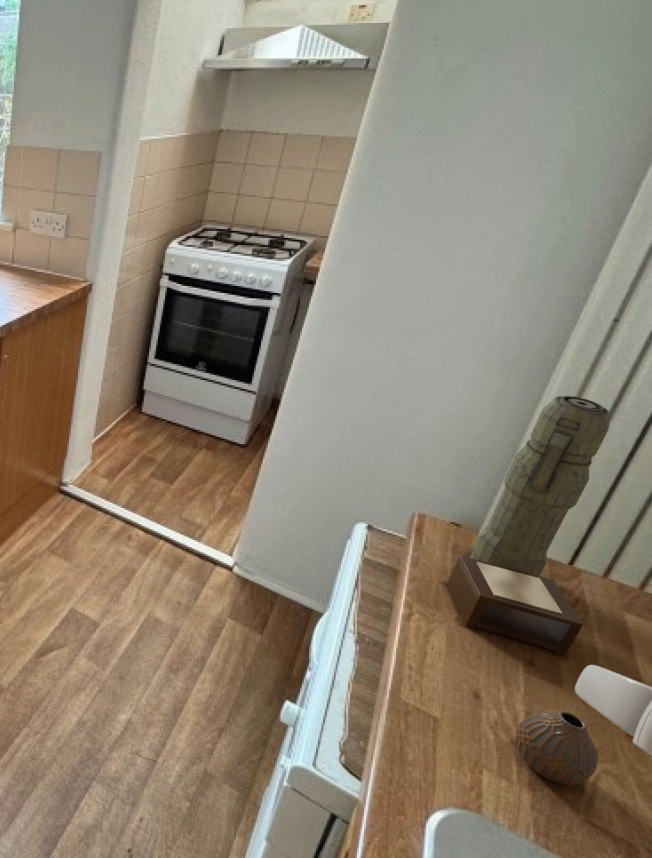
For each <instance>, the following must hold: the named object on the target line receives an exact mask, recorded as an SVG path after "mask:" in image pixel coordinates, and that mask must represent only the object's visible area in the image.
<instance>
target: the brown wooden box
mask: <svg viewBox="0 0 652 858" xmlns="http://www.w3.org/2000/svg"><path fill="white" fill-rule="evenodd" d="M446 588H447V590H448V592H449V593H450V597H451V598H452V600H453V603H454V605H455V608H456V609H457V612H458V614H459V616H460V618H461V620H462V622H463V624H464V627H466V628H469V629H473V630H475V629H476V628H478V629H480V630H484V631H488V632H491V633H494V634H497V635H501V636H503V637H508V638H512V639H514V640H517V641H520V642H524V643H527V644H531V645H534V646H538V647H541V648H545V649H548V650H550V651H552V652H553V653H554V654H555V655H559V656H562V657H566V655H567V653H568V651H570V648H571V647H572V645H573V643H574V641H575V639H576V638H577V636H578V635H579V633H580V631H581V629H582V628H583V625H584V623H583V622H582V620H581V619H580V617H579V616H578V614H577V613H576V612H575V610H574V609H573V607H572V605H571V604H570V603H569V601H568V600H567V599H566V597H565V595H564V594H563V592H562V591H561V590H560V588H559V586H558V585H557V583H556V582H555V580H553V579H552V578H548V577H545V576H542V575H540V576H537V575H533V574H529V573H526V572H522V571H518V570H514V569H510V568H507V567H503V566H499V565H495V564H491V563H488V562H484V561H480V560H476V559H473V558H470V556H465V555H462V554H460V555H459V556H458V558H457V560H456V562H455V564H454V567H453V569H452V571H451V573H450V576H449V577H448V580H447V582H446Z"/></svg>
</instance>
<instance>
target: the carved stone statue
mask: <svg viewBox="0 0 652 858" xmlns="http://www.w3.org/2000/svg"><path fill="white" fill-rule="evenodd" d="M609 429H610V411H609V410H608V409H607V408H606V407H604V406H603V405H602V404H600V403H598V402H595V401H593V400H590V399H587V398H583V397H579V396H574V395H564V396H563V395H562V396H561V395H560V396H559V395H558V396H556V397H554V398H553V399H552V400H551V401H549V402H548V403H547V404H546V405H545V406H544V407H543V408H542V409H541V412H540V413H539V416H538V418H537V420H536V423H535V425H534V427H533V429H532V431H531V433H530V437H531V438H529V440H527V441H526V444H525V446H523V448H521V449H520V450H519V451H517V453H515V456H514V458H513V460H512V462H511V465H510V467H509V469H508V471H507V473H506V476H505V478H504V481H503V482H504V486H505V487H504V489H503V491H502V493H501V495H500V497H499V500H498V502H497V504H496V506H495V508H494V510H493V513H492V515H491V517H490V519H489V521H488V524H487V525H486V526H485V527H484V528H483V529H482V530H481V531H480V532H478V535H477V537H476V539H475V542H474V543H473V546H472V553H471V554H470V555H469V558H473V559H476V560H480V561H484V562H488V563H491V564H495V565H499V566H503V567H507V568H510V569H514V570H518V571H522V572H526V573H529V574H533V575H537V576H541V574H542V572H543V570H544V569H545V566H546V565H547V562H548V561H547V560H548V558H547V555H548V553H547V552H548V550H549V548H550V547H551V545H552V543H553V541H554V539H555V538H556V537H555V536H556V535H557V533H558V530H559V529H560V527H561V525H562V523H563V521H564V520H565V517H566V515H567V513H568V512H569V510H570V509H573V508H574V507H575V506H576V505H577V503H578V501H579V500H580V498H581V496H582V495H583V492H584V491H585V488H586V486H587V485H588V482H589V480H590V466H592V458H593V457H595V456H596V454H597V453H598V451H599V449H600V447H601V446H602V443H603V441H604V439H605V437H606V435H607V433H608V431H609Z"/></svg>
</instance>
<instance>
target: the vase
mask: <svg viewBox="0 0 652 858" xmlns="http://www.w3.org/2000/svg"><path fill="white" fill-rule="evenodd" d="M588 732H589V731H588V726H587V724H586V723H585V721H584V720H582V719H581V717H579V716H577V715H576V714H574V713H572V712H570V711H567V710H560V711H559V710H558V711H556V712H544V711H543V712H535V713H532V714H529V715H528V716H526V717H525V718H523V719H522V720H520V722H519V724H518V725H517V727H516V730H515V735H514V736H515V737H514V739H515V740H514V741H515V746H516V750H517V751H518V753H519V755H520V757H521V758H522V760H523V761H524V763H525V764H526V765H527V766H528V767H530V768H531V770H533V771H534V772H535V773H537V774H538V775H540V776H541V777H543V778H544V779H546V780H549V781H551V782H554V783H557V784H562V785H567V786H569V785H570V786H573V785H580V784H582V783H585V782H586V781H588V780H590V778H591V777H592V776H593V775H594V774H595V772H596V771H597V768H598V764H599V754H598V749H597V747H596V745H595V743H594V741H593V739H592V737H591V736H590V734H589V733H588Z"/></svg>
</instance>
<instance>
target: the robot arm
mask: <svg viewBox="0 0 652 858" xmlns="http://www.w3.org/2000/svg"><path fill="white" fill-rule="evenodd" d="M574 692H575V694H576V695H577V696H578V698H579V699H581V700H582V701H583V702H584V703H586V704H587V705H588V706H589V707H591V708H592V709H593V710H594V711H596V712H597V713H599V714H600V715H601V716H603V717H604V718H605V719H607V720H608V721H609V722H610V723H612V724H613V725H615V726H616V727H618V728H619V729H620V730H622V731H624V732H625V733H627V734H628V735H630V736H631V737H632V744H633V745H634V746H635V747H636V748H637V749H639V750H641V751H642V752H644V753H645V754H647V755H649V756H650V757H652V686H650V685H647V684H645V683H643V682H640V681H637V680H635V679H633V678H630V677H628V676H625V675H624V674H623V675H622V674H620V673H618V672H615V671H614V670H613V671H612V670H610V669H608V668H604V667H603V666H599V665H596V664H589V665H587V666H585V668H584V669H583V670H582V671H581V673H580V675H579V676H578V679H577V680H576V682H575V686H574Z"/></svg>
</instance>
